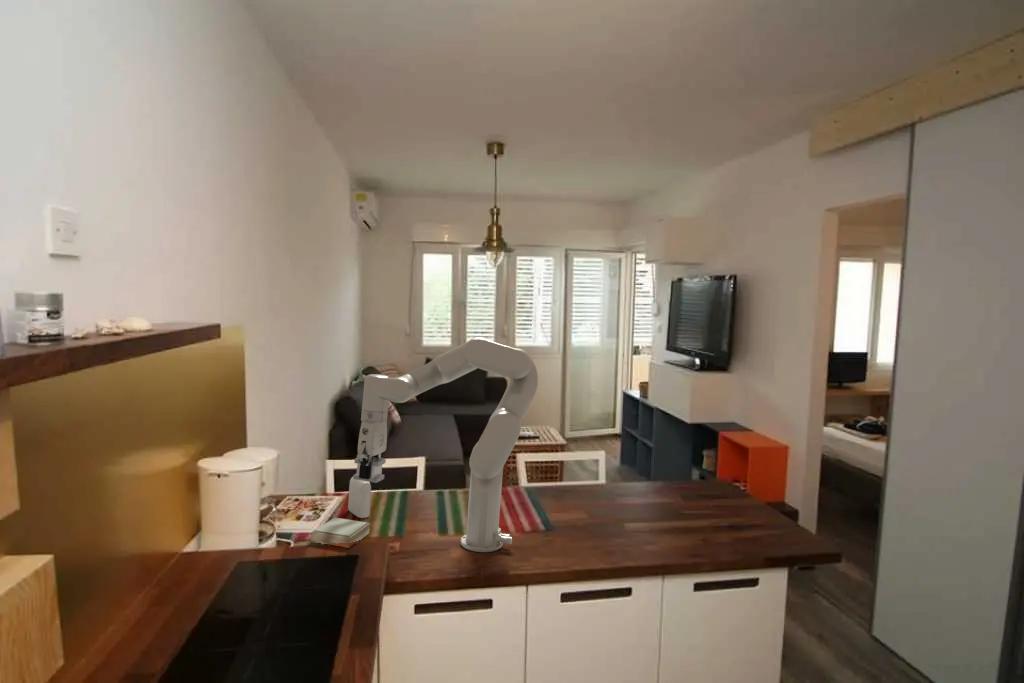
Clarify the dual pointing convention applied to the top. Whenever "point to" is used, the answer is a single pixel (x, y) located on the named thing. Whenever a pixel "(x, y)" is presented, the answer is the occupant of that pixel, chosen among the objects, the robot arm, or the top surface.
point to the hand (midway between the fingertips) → (368, 475)
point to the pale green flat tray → (340, 531)
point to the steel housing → (372, 470)
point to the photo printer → (359, 498)
